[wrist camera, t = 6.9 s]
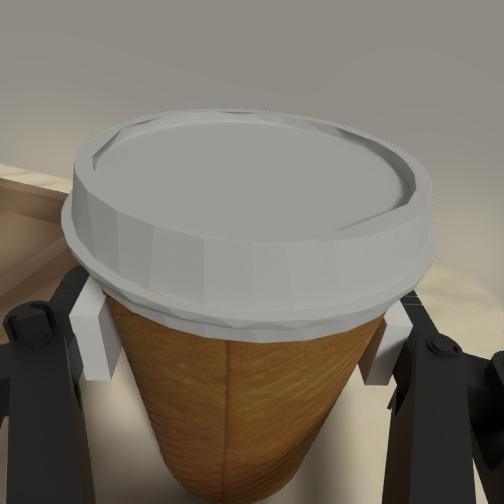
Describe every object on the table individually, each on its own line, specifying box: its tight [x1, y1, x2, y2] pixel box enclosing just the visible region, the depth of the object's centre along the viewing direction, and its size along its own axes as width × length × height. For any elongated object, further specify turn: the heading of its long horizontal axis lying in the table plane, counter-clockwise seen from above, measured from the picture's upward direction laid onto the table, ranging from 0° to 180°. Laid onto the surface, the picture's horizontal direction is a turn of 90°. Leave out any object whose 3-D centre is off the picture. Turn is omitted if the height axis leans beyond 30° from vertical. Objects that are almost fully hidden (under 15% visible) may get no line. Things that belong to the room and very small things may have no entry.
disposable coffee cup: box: [61, 108, 437, 504], centre depth 13 cm, size 10×10×12 cm
